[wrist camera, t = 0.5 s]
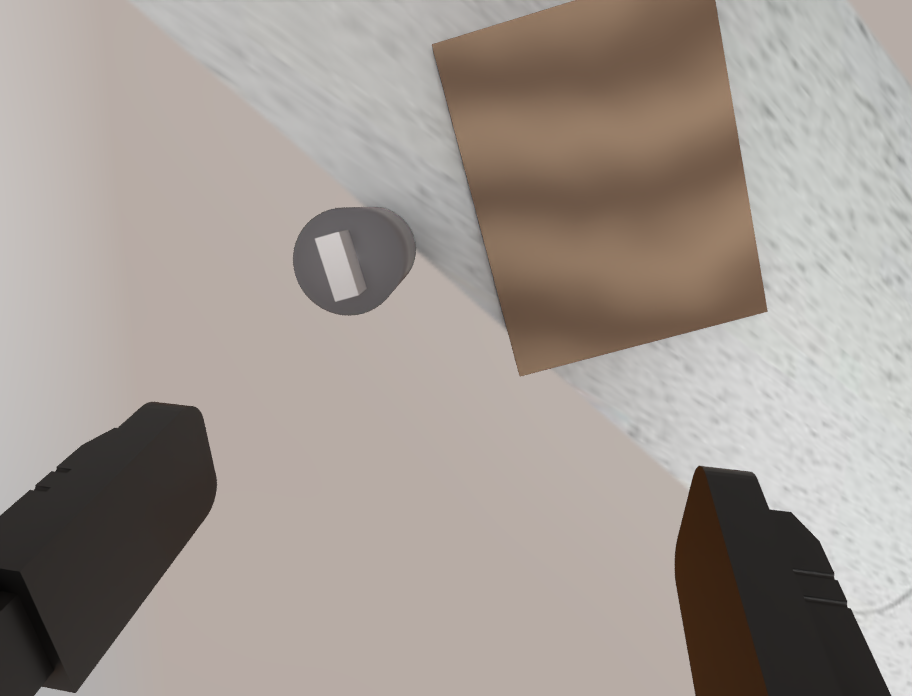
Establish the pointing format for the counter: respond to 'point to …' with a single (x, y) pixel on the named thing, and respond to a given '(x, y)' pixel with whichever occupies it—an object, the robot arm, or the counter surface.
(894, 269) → the counter surface
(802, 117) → the counter surface
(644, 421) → the counter surface
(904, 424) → the counter surface
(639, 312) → the walnut board
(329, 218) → the grey cylinder with tab
